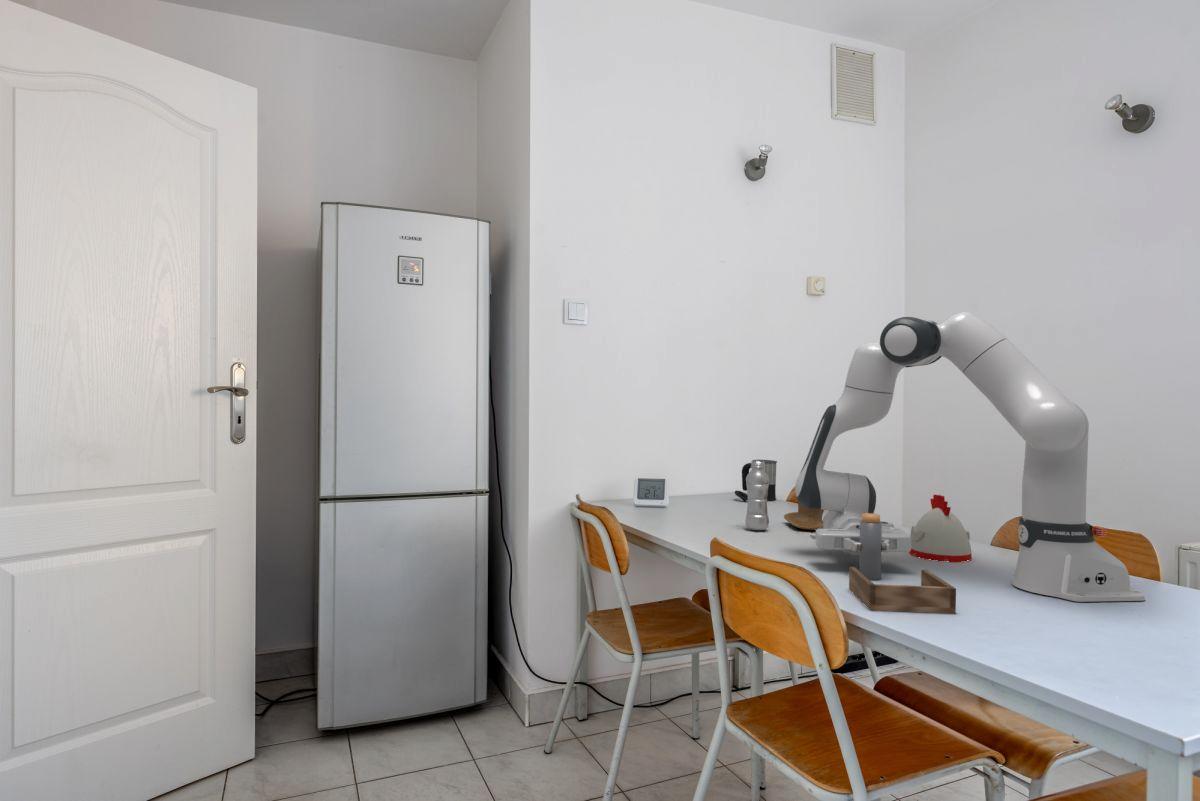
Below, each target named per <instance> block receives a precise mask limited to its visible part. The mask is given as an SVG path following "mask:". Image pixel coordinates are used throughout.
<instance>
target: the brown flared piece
mask: <svg viewBox="0 0 1200 801" xmlns="http://www.w3.org/2000/svg"><path fill="white" fill-rule="evenodd" d="M824 512H825V510H822V509H820V510H815V509H806V508H805V507H803V506H802V505H801V504H800V503H799V501H798V500H797V512H796V511H795V512H793V511H792V512H788V513H786V514H784V515H783V518H784V519H785V521H787V522H788V523H789V524H790V525H792V526H793V527H795V528H798V529H802V530H811V531H813V530H814V531H816V530H817V529H824V528H823V515H824Z"/></svg>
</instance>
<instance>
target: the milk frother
mask: <svg viewBox="0 0 1200 801" xmlns="http://www.w3.org/2000/svg"><path fill="white" fill-rule="evenodd" d="M752 461H764V462H765V464H764V466H765V468H764V471H765V472H766V474H767V476H768V478H769V486H768V492H767V502H771V501H773V502H774V501H776V500H777V498H776V496H777V495H776V491H777V490H776V486H777V484H776V483H777V482H776V481H777V480H776V479H777V463H778V461H777V460H773V459H772V460H769V459H752V460H751V462H752ZM751 462H748V463H744V465H743V466H742V467H741V468H742V469H741V486H742V491H741V490H735V491H734V494H735V496H737V497H738V498H740V499H741V501H742V500H743V502H746V501H747V502H748V495H747V493H745V491H746V492H747V485H746V477H747V475H748V473H749V472H750V469H752V467H751ZM743 491H744V492H743Z"/></svg>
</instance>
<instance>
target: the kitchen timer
mask: <svg viewBox="0 0 1200 801" xmlns="http://www.w3.org/2000/svg"><path fill="white" fill-rule="evenodd" d="M932 496H933V497H932V498H930V505H931V506H930V507H931V509H930V510H928V511H927V512H925V514H923V515H922V516H921V517H920V518H919V519H918V521H917V523H916V524H915V525H912V526H911V527H910V528H911V529H910V534H909V535H910V536H911V551H910V552H908V553H910V554H911V556H912V555H913V557H915V556H916V557H915V558H918V557H920V558H919V559H922V558H924V559H923V560H926V559H931V560H930V561H932V560H938V561H937V562H940V561H949V562H948V563H962V562H961V561H967V560H970V559H971V560H972V547H971V543H970V539H971V536H970V530H966V529H965V527H964V525H963V524H962V522H961V521H960V519H959V518H958V517H957V516H956V514H954V513H953V512H952V511H951V507H952V506H948V503H949V502H948V500H947V501H946V500H945V495H941V494H932ZM910 554H909V555H910ZM971 560H970V561H971ZM967 562H968V561H967Z"/></svg>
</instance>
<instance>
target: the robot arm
mask: <svg viewBox="0 0 1200 801" xmlns="http://www.w3.org/2000/svg"><path fill="white" fill-rule="evenodd" d="M879 336H880V338H879V342H878V341H870V342H867V343H866V342H864V343H863V344H860V345H859V346H858V347H857V348H856V349H855V350H854V353H853V356H852V359H851V361H850V364H849V367H848V370H847V374H846V377H845V384H844V388H843V391H842V393H841V396H840V397H839V398H838V400H837V401H836V402H835V403H834V404H832V405H829V406H828V407H827V408H826V410H825V411H824V413H823V414H822V416H821V419H820V421H819V424H818V426H817V429H816V432H815V434H814V437H813V441H812V443H811V446H810V448H809V451H808V452H807V453H808V454H807V457H806V459H805V462H804V464H803V466H802V469H801V470H800V472H799V475H798V476H797V479H796V482H795V484H794V496H795V499H796V500H797V502H798V501H799V503H800V504H801V505H802V506H803V507H805V508H806V509H815V510H820V509H822V510H824V511H827V512H826V513H825V515H824V516H823V518H822V521H823V528H824V529H817V530H815V533H814V532H812V533H810V534H809V537H810V538H811V539H812V540H815V546H816V548H817V549H819V550H826V551H827V550H828V551H843V552H844V553H845V554H847V555H850V556H859V551H861V543H860V521H861V520H862V514H863V513H873V514H875V510H876V504H877V491H876V488H875V487H874V484H872V482H871V480H870V479H869V477H868V476H866V475H862V474H855V473H850V472H849V473H848V472H838V471H833V470H827V469H824V468H825V464H826V461H827V460H828V456H829V455H830V452H831V449H832V446H833V443H834V441H835V440H836V439H837V437H838V436H840V435H842V434H843V433H845V432H848V431H852V430H856V429H861V428H865V427H869V426H872V425H875V424H877V423H878V422H880V421H882V420H883V419H884V418H885V417H886V416H887V415H888V414H889V412H890V409H891V405H892V402H893V399H894V398H893V397H894V392H895V387H896V382H897V379H898V375H899V374H900V372H901V371H902V369H905V368H913V367H922V366H928V365H931V364H934V363H936V362H938V361H939V360H941V358H942V357H943V358H945V359H946V360H948V361H950V362H951V363H952V364H953V365H954V366H955V367H956V368H958V370H959V371H960V372H961V373H962V374H963V375H964V376H965V377H966V378H967V380H968V381H969V382H971V383H972V384H973V385H974V386H975V387H976V388H977V390H978V391H979V392H981V394H983V396H985V397H986V399H988V401H989V402H990V403H991V404H992V405H993V407H995V409H996V410H997V411H998V412H999V413H1000V415H1001V416H1002V417H1003V418H1004V419H1005V420H1006V421H1007V423H1008V424H1009V425H1010V426H1011V427H1012V428H1013V429H1014V430H1015V431H1016V432H1017V434H1018V435H1019V436H1020V437H1021V438H1022V439H1023V440H1024V441H1025V449H1024V460H1023V462H1024V463H1023V471H1022V473H1023V474H1022V480H1021V481H1022V484H1021V516H1020V517H1019V518H1018V520H1019V521H1018V543H1019V549H1018V557H1017V561H1016V566H1015V570H1014V574H1013V577H1012V579H1011V582H1010V583H1011V585H1013V587H1016V588H1017V589H1018V588H1019V589H1020V590H1024V591H1027V592H1029V593H1035V594H1038V595H1044V596H1048V597H1049V596H1050V597H1053V598H1054V597H1055V598H1061V599H1064V600H1066V601H1067V600H1068V601H1072V602H1078V603H1079V602H1080V603H1083V602H1085V603H1086V602H1092V603H1093V602H1135V601H1136V602H1139V601H1140V602H1142V601H1143V602H1144V601H1145V594H1144V593H1143V592H1142V591H1140V590H1139V589H1136V588H1135V587H1132V586H1131V580H1130V579H1131V578H1130V574H1129V570H1128V568H1127V567H1126V565H1125V564H1124V562H1122V561H1121V560H1120V559H1118V558H1117V557H1116V556H1115V555H1113V554H1112V553H1110V552H1109V551H1108V550H1106V549H1105V548H1104V547H1103V546H1101V545H1100V544H1099V543H1097V542H1096V539H1095V537H1094V536H1097V537H1099V538H1105V537H1106V536H1107V535H1108V531H1107V529H1106V528H1105V527H1103V526H1100V525H1095V526H1093V525H1091V524H1090V523H1088V522H1086V521H1087V481H1088V480H1087V479H1088V478H1087V477H1088V476H1087V475H1088V458H1089V456H1088V451H1089V431H1090V430H1089V424H1090V423H1089V419H1088V416H1087V414H1086V412H1085V411H1084V410H1083V409H1082V408H1081V407H1080V406H1079V405H1078V404H1076V403H1074V402H1073V401H1072V400H1070V399H1069V398H1068V397H1067V396H1066V395H1065V394H1064V393H1063V392H1062V391H1061V390H1060V389H1059V388H1058V387H1057V386H1056V385H1055V384H1054V383H1053V382H1052V380H1050V379H1049V378H1048V377H1047V376H1046V375H1045V374H1044V373H1042V371H1041V370H1040V369H1039V368H1038V367H1037V366H1036V365H1035V364H1034V363H1033V362H1032V361H1031V360H1030V359H1029V358H1028V357H1027V356H1026V355H1025V354H1023V352H1021V351H1020V349H1018V348H1017V347H1016V346H1015V345H1014V344H1013V343H1012V342H1011V341H1010V340H1009V339H1008V338H1007V337H1006V336H1005V335H1004V334H1002V333H1001V332H1000V331H999V330H998V329H996V327H994V326H993V325H991V324H990V323H989V322H987V321H986V320H985V319H983V318H981V317H980V316H979V315H977V314H976V313H973V312H969V311H962V312H958V313H955V314H953V315H952V316H949V317H947V319H946V320H944V321H942V323H938V322H936V321H934V320H929V319H926V318H924V317H919V316H901V317H898V318H896V319H894V320H892V321H891V322H889V323H888V324H886V325H885V327H883V330H882V331H881V334H880V335H879ZM880 522H882V548H881V553H889V552H891V553H909V552H910V551H911V536H910V534H909V533H908V532H906V531H904V530H902V529H900V528H897V527H895V526H894V525H895V524H893V523H891V522H888V521H887V522H886V521H881V520H880Z"/></svg>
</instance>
